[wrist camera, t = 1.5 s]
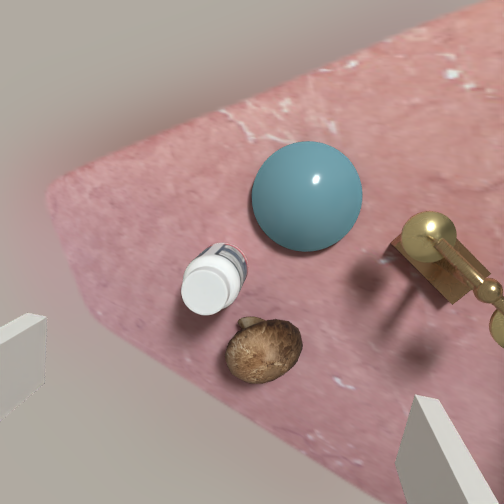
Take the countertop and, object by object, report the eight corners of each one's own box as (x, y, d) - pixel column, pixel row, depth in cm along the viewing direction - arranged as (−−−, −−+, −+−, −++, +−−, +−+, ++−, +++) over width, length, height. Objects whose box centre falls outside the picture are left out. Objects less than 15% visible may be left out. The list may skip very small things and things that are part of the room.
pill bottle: (203, 292, 42) (178, 325, 33) (195, 244, 41) (167, 266, 32) (252, 287, 41) (238, 320, 32) (245, 239, 40) (229, 259, 31)
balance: (500, 287, 38) (591, 342, 26) (463, 316, 39) (534, 382, 27) (408, 192, 37) (457, 205, 25) (372, 225, 38) (404, 251, 26)
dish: (320, 119, 36) (321, 117, 35) (381, 209, 38) (384, 211, 36) (232, 185, 39) (230, 185, 38) (292, 268, 40) (292, 271, 39)
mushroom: (212, 307, 38) (230, 359, 34) (287, 287, 40) (313, 333, 36) (220, 355, 44) (236, 405, 39) (286, 334, 45) (308, 380, 41)
